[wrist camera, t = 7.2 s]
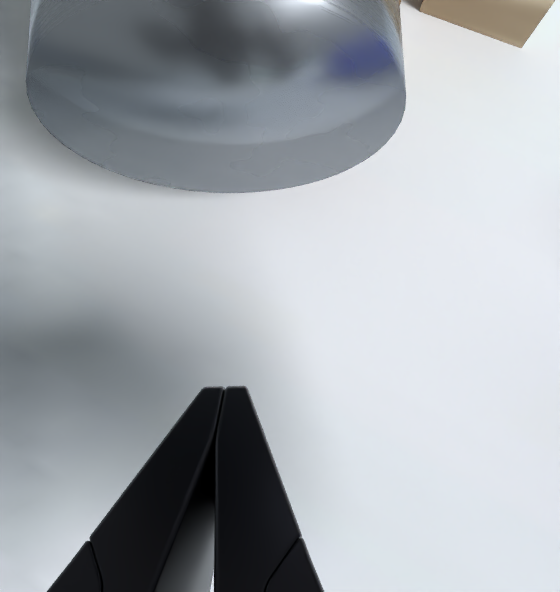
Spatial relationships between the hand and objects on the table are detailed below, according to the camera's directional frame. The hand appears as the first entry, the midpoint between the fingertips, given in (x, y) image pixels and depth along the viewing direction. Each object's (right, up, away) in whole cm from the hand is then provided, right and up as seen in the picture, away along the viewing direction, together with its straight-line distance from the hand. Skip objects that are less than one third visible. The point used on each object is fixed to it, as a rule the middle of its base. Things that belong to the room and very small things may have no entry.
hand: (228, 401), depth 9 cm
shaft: (0, +11, +7) cm, 13 cm away
